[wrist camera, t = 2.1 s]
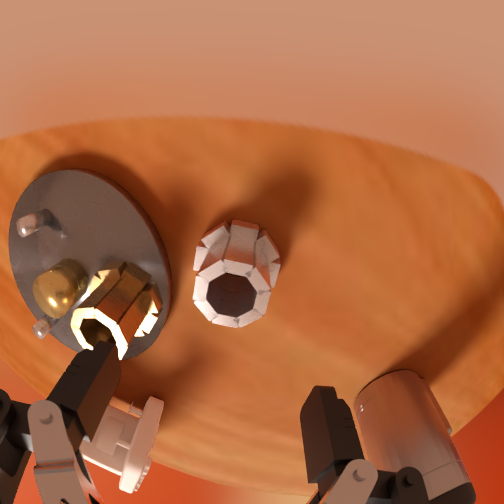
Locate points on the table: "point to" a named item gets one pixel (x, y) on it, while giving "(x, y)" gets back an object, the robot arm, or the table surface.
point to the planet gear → (235, 262)
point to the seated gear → (117, 307)
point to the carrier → (81, 248)
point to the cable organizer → (125, 442)
